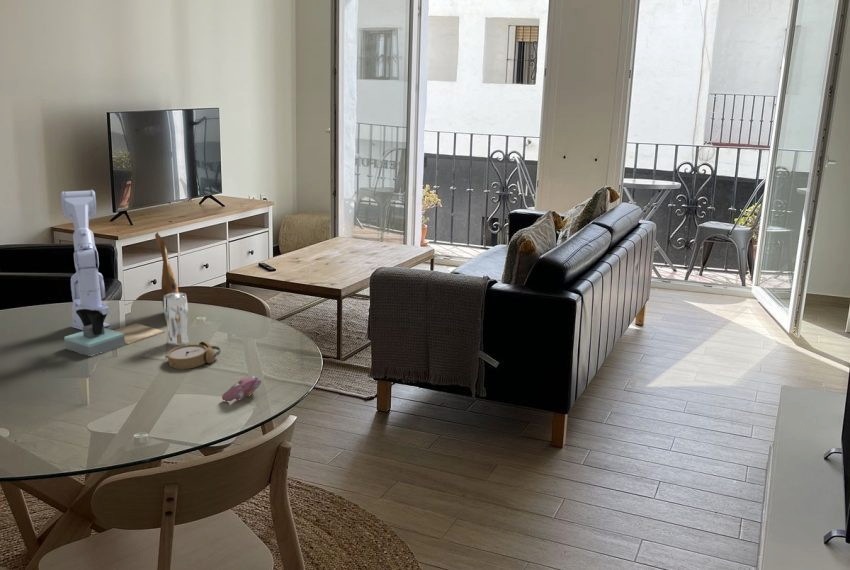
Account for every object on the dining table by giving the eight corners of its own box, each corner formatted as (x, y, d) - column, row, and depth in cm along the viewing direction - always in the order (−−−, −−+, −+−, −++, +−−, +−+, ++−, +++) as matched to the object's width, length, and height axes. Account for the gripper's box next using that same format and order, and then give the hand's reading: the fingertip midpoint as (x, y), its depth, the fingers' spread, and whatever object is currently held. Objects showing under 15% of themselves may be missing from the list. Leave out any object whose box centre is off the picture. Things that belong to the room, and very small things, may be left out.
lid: (64, 339, 245) (62, 327, 244) (99, 328, 255) (98, 317, 254) (89, 347, 239) (88, 334, 238) (124, 336, 249) (123, 324, 248)
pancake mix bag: (160, 326, 267) (153, 241, 260) (161, 309, 285) (154, 229, 277) (182, 324, 269) (176, 240, 262) (181, 307, 287) (175, 228, 279)
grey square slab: (65, 348, 246) (64, 339, 245) (100, 337, 256) (99, 328, 255) (90, 357, 240) (89, 347, 239) (125, 345, 250) (124, 336, 249)
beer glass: (193, 339, 256) (190, 292, 252) (185, 346, 249) (181, 299, 245) (172, 338, 256) (168, 291, 252) (162, 345, 250) (159, 298, 246)
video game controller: (231, 410, 209) (239, 390, 206) (219, 399, 210) (226, 379, 207) (258, 397, 217) (266, 378, 214) (246, 387, 219) (254, 367, 215)
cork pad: (98, 335, 258) (98, 334, 258) (135, 324, 269) (135, 323, 269) (127, 344, 250) (127, 343, 250) (164, 332, 262) (164, 331, 262)
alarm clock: (162, 349, 238) (213, 334, 244) (167, 365, 240) (217, 349, 246) (170, 362, 229) (222, 346, 235) (174, 378, 231) (226, 361, 236)
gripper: (62, 288, 243) (67, 331, 247) (93, 296, 236) (97, 341, 240) (83, 283, 249) (87, 325, 253) (114, 290, 242) (118, 334, 245)
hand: (94, 333), depth 247 cm, fingers open, 3 cm apart
